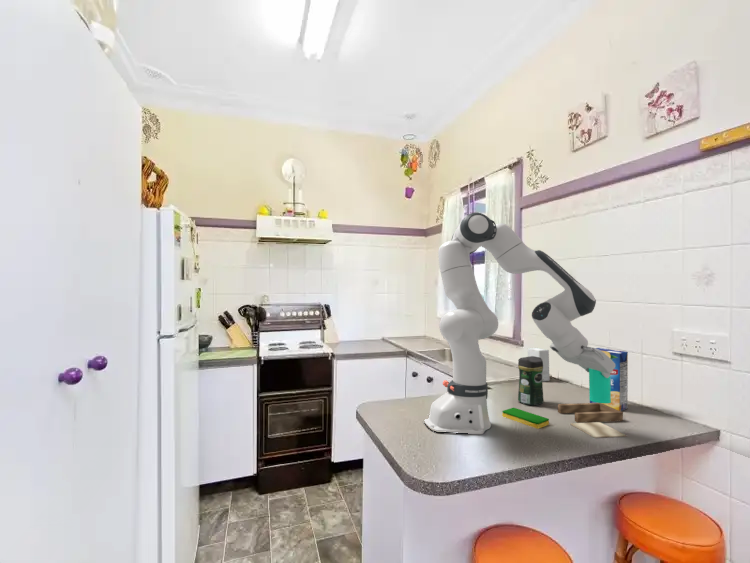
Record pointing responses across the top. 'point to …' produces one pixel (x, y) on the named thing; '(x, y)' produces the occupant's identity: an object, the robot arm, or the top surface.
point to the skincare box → (545, 358)
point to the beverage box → (618, 379)
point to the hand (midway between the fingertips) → (599, 373)
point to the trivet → (598, 430)
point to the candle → (599, 387)
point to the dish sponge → (525, 418)
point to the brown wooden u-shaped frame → (591, 412)
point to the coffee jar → (530, 380)
